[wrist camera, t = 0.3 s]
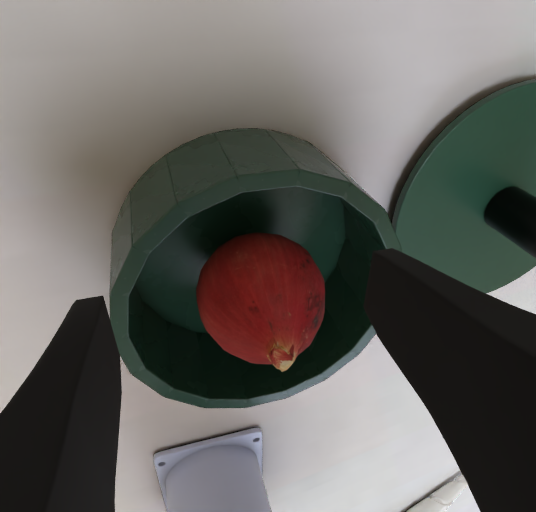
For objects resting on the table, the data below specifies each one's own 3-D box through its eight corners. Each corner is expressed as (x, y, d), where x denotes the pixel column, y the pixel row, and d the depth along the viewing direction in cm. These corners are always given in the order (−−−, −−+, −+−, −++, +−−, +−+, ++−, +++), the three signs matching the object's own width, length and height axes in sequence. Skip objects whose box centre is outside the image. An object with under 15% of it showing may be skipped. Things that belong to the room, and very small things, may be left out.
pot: (342, 316, 28) (379, 376, 24) (135, 357, 25) (137, 433, 21) (370, 117, 20) (432, 154, 16) (81, 140, 17) (69, 193, 13)
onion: (292, 192, 21) (365, 289, 15) (297, 281, 24) (357, 391, 18) (177, 216, 20) (202, 331, 14) (198, 305, 23) (225, 431, 17)
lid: (540, 272, 31) (606, 320, 27) (369, 306, 28) (413, 366, 24) (635, 69, 23) (749, 92, 19) (411, 82, 20) (488, 113, 16)
